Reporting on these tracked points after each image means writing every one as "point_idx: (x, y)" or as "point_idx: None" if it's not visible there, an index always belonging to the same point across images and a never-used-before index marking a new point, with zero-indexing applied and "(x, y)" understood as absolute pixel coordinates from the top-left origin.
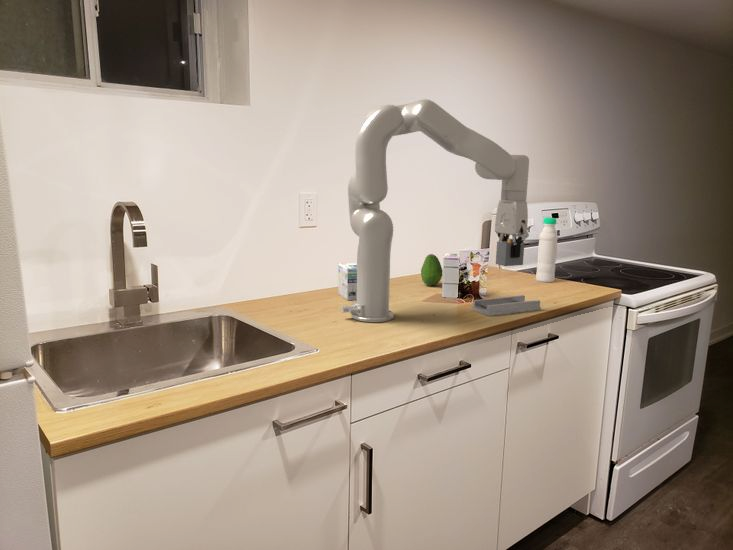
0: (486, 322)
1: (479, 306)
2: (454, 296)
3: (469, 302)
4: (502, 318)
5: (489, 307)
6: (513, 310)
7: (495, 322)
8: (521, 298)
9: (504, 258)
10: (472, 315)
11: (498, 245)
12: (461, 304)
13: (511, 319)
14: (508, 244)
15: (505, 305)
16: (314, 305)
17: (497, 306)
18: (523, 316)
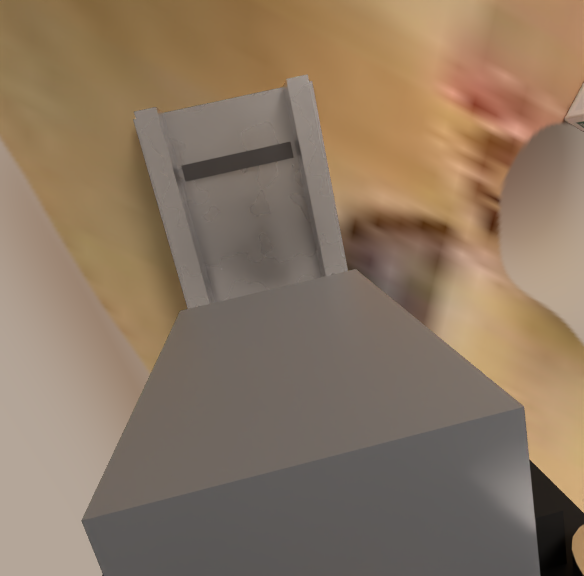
0: (6, 36)
1: (291, 126)
2: (581, 94)
3: (462, 149)
4: (90, 179)
5: (137, 116)
6: (183, 293)
7: (4, 94)
8: None
9: (187, 340)
10: (173, 22)
11: (408, 379)
12: (430, 75)
13: (65, 221)
14: (118, 557)
15: (174, 245)
16: None
17: (156, 182)
18: (122, 316)
